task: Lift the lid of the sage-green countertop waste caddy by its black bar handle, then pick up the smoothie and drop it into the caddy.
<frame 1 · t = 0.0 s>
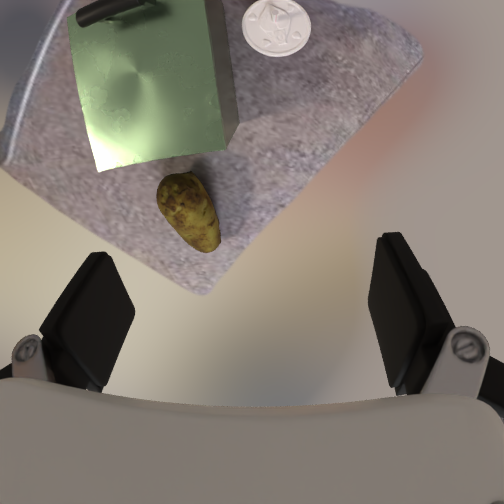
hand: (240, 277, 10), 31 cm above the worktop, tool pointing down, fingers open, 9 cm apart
potato: (196, 202, 43), on the worktop
smoothie: (275, 35, 30), on the worktop
caddy: (178, 71, 32), on the worktop
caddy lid: (128, 73, 20), point 15 cm above the worktop, hinge at 0.0°
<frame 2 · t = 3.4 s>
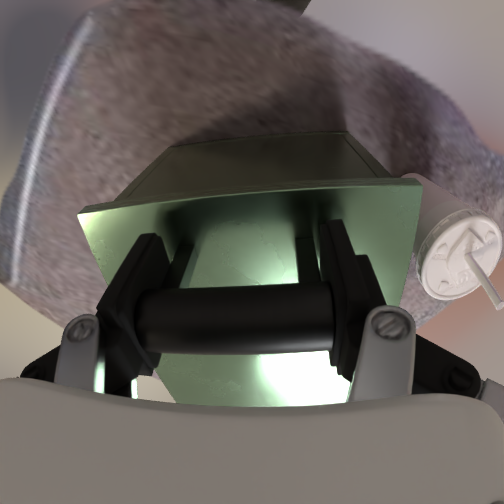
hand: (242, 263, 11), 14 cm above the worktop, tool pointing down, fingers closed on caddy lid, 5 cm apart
smoothie: (409, 192, 23), on the worktop
caddy: (266, 231, 26), on the worktop
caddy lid: (259, 382, 14), point 15 cm above the worktop, hinge at 0.0°, touching gripper
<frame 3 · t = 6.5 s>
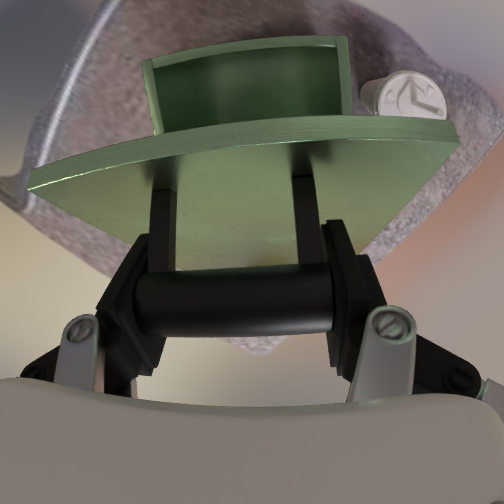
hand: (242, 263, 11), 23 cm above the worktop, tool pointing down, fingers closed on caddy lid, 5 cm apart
smoothie: (375, 96, 27), on the worktop
caddy: (260, 127, 30), on the worktop
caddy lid: (256, 275, 15), point 20 cm above the worktop, hinge at 43.6°, touching gripper
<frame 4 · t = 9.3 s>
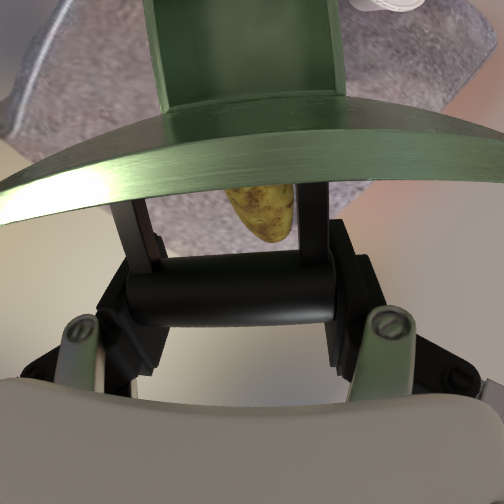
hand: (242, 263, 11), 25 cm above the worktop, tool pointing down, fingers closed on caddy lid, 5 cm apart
potato: (260, 181, 36), on the worktop
caddy: (249, 22, 25), on the worktop
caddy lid: (244, 167, 13), point 21 cm above the worktop, hinge at 85.6°, touching gripper
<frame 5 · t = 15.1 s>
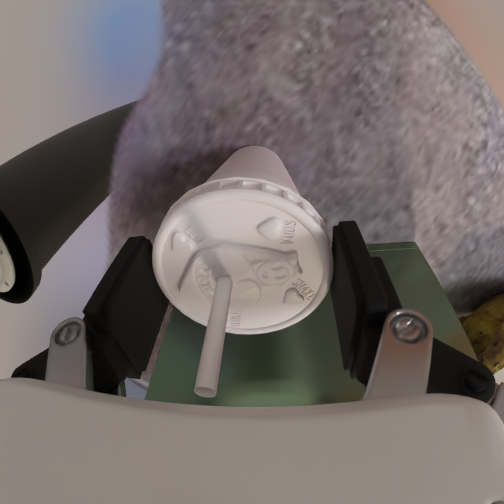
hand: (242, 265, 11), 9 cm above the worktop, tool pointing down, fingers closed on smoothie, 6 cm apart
potato: (485, 299, 23), on the worktop
smoothie: (255, 173, 18), on the worktop, touching gripper
caddy: (306, 315, 25), on the worktop
when the fingers open (10 cm above the worktop, at t = 22.5 s): smoothie stays where it is, resting on caddy.
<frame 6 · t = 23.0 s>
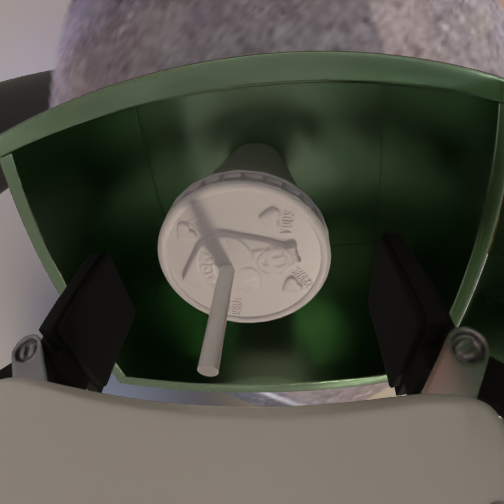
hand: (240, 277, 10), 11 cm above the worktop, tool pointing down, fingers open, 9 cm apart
smoothie: (256, 169, 19), point 1 cm above the worktop, touching caddy
caddy: (265, 166, 19), on the worktop
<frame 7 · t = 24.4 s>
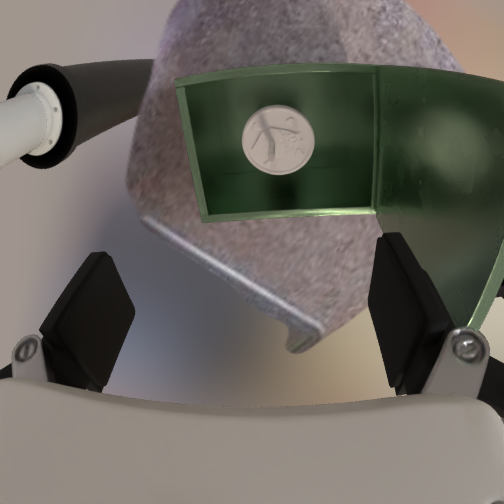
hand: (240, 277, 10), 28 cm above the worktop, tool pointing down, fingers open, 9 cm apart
smoothie: (278, 121, 33), point 1 cm above the worktop, touching caddy
caddy: (283, 120, 33), on the worktop
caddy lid: (454, 187, 15), point 21 cm above the worktop, hinge at 86.6°
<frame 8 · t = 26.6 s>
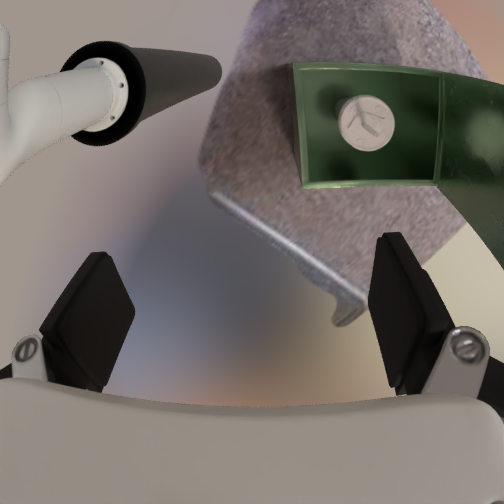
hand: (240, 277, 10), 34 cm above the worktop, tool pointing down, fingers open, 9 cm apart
smoothie: (347, 110, 36), point 1 cm above the worktop, touching caddy
caddy: (350, 109, 37), on the worktop
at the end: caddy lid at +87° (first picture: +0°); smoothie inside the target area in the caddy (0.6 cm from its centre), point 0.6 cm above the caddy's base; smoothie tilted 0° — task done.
